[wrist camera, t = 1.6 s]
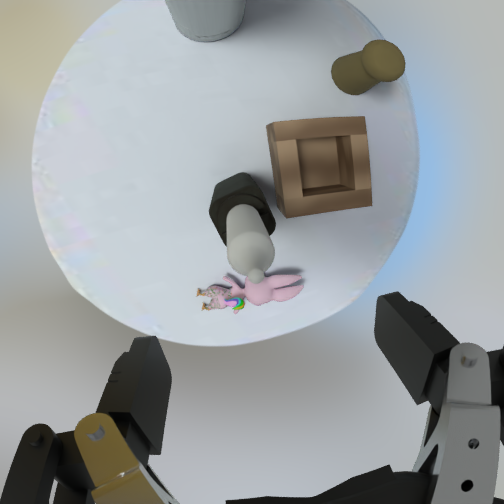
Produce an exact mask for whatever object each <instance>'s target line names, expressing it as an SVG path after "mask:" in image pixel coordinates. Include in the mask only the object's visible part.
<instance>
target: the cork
mask: <svg viewBox="0 0 504 504" xmlns="http://www.w3.org/2000/svg"><path fill="white" fill-rule="evenodd" d="M404 71H405V60H404V56H403V54H402V52H401V51H400V50H399V48H398V47H397V46H395V45H394V44H393V43H390V42H388V41H386V40H374V41H371V42H369V43H368V44H367V45H365V47H364V48H363V50H362V51H359V52H356V53H352V54H349V55H346V56H343V57H340V58H338V59H337V60H336V61H335V62H334V63H333V65H332V70H331V74H332V79H333V81H334V83H335V84H336V85H337V87H338V88H339V89H340V90H342V91H343V92H345V93H347V94H350V95H359V94H362V93H364V92H366V91H367V90H369V89H370V88H372V87H373V86H375V85H376V84H378V83H379V82H381V81H382V82H391V81H395V80H397V79H398V78H399V77H401V76H402V75H403V73H404Z"/></svg>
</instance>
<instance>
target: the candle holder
mask: <svg viewBox="0 0 504 504" xmlns="http://www.w3.org/2000/svg"><path fill="white" fill-rule="evenodd" d="M266 129H267V136H268V142H269V149H270V156H271V163H272V170H273V177H274V185H275V192H276V200H277V207H278V209H279V210H280V211H281V212H282V214H283V215H284V216H285V217H286V218H292V217H298V216H305V215H311V214H318V213H325V212H331V211H338V210H345V209H352V208H359V207H367V206H372V191H371V174H370V161H369V150H368V140H367V131H366V123H365V116H359V117H331V118H314V119H301V120H290V121H280V122H273V123H271V124H269V125H267V126H266Z"/></svg>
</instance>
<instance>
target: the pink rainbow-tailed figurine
mask: <svg viewBox="0 0 504 504" xmlns="http://www.w3.org/2000/svg"><path fill="white" fill-rule="evenodd" d="M301 278H302V276H300V275H272V276H270V277H264V279H263V281H262V282H260V283H258V284H254V283H252V282H250V281H249V279H248V276H247V277H246V279H245V288H243V289H242V288H240V287H239V286H238V285H237V283H235V282H234V281H233V280H231V279H230V278H228V277H226V276H224V277H223V279H224V280H225V281H228V282H229V283H231V285H232V288H230V289H225V288H223V287H220V286H216V285H213V286H210V287H209V288H208V289H207V290H206V291H205V292H204V293H203V294H201V293H200V290H199V289H198V291H197V296H198V295H202V296H208V297H211V298H212V300H211V302H210V305H209V306H208V307H207V308H206V307H205V304H204V303H203V302H202V303H203V307H202V310H203V309H206V310H211V309H223V308H225V307H227V306H230V307H234V308H232V309H234V314H237V313H238V311H239V310H240V309H243V308H244V305H245V303H244V301H243V298H244V297H247V299H248V300H249V302H251V303H252V304H254V305H256V306H259V305H261V304H264V303H268V302H270V301H272V300H274V301H279V302H281V301H286V300H289V299H292V298H294V297H295V296H296V295H297V294H298V293H299V292H300V291H301V290H302V289H303V287H304V285H299V286H291V287H284V288H279V287H283V286H286V285H290V284H292V283H294V282H296V281H297V280H299V279H301ZM275 288H278V289H275ZM197 296H196V297H197ZM202 310H201V311H202Z"/></svg>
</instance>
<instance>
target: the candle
mask: <svg viewBox="0 0 504 504" xmlns="http://www.w3.org/2000/svg"><path fill="white" fill-rule="evenodd" d="M209 215H210V217H211V219H212V221H213V223H214V225H215V227H216V229H217V231H218V233H219V235H220V237H221V239H222V241H223V243H224V244H225V246H226V247H227V258H228V261H229V264H230V265H231V266H232V268H233V269H234V270H235V271H236V272H238V273H240V274H242V275H245V276H248V279H249V281H250V282H252V283H254V284H258V283H260V282H262V281H263V279H264V272H265V271H266V270H267V269H268V268H269V267H270V266H271V264H272V263H273V260H274V256H275V249H274V246H273V243H272V241H271V239H270V235H271V234H272V233H273V232H274V230H275V227H276V222H275V219H274V217H273V215H272V212H271V210H270V208H269V206H268V203H267V201H266V199H265V197H264V195H263V193H262V191H261V190H260V188H259V187H258V186H257V184H256V183H255V182H254V181H253V179H252V178H251V177H250V176H249V175H248V174H247V173H238V174H236V175H234V176H232V177H230V178H228V179H226V180H223V181H221V182H219V183H218V184H217V185H216V186H215V189H214V193H213V197H212V200H211V204H210V209H209Z"/></svg>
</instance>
